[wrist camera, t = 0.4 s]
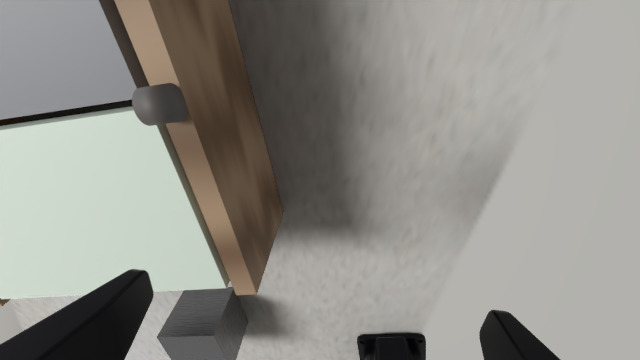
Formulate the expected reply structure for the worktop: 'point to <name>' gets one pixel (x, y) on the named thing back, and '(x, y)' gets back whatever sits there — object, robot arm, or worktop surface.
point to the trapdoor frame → (207, 124)
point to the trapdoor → (88, 163)
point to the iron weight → (204, 326)
